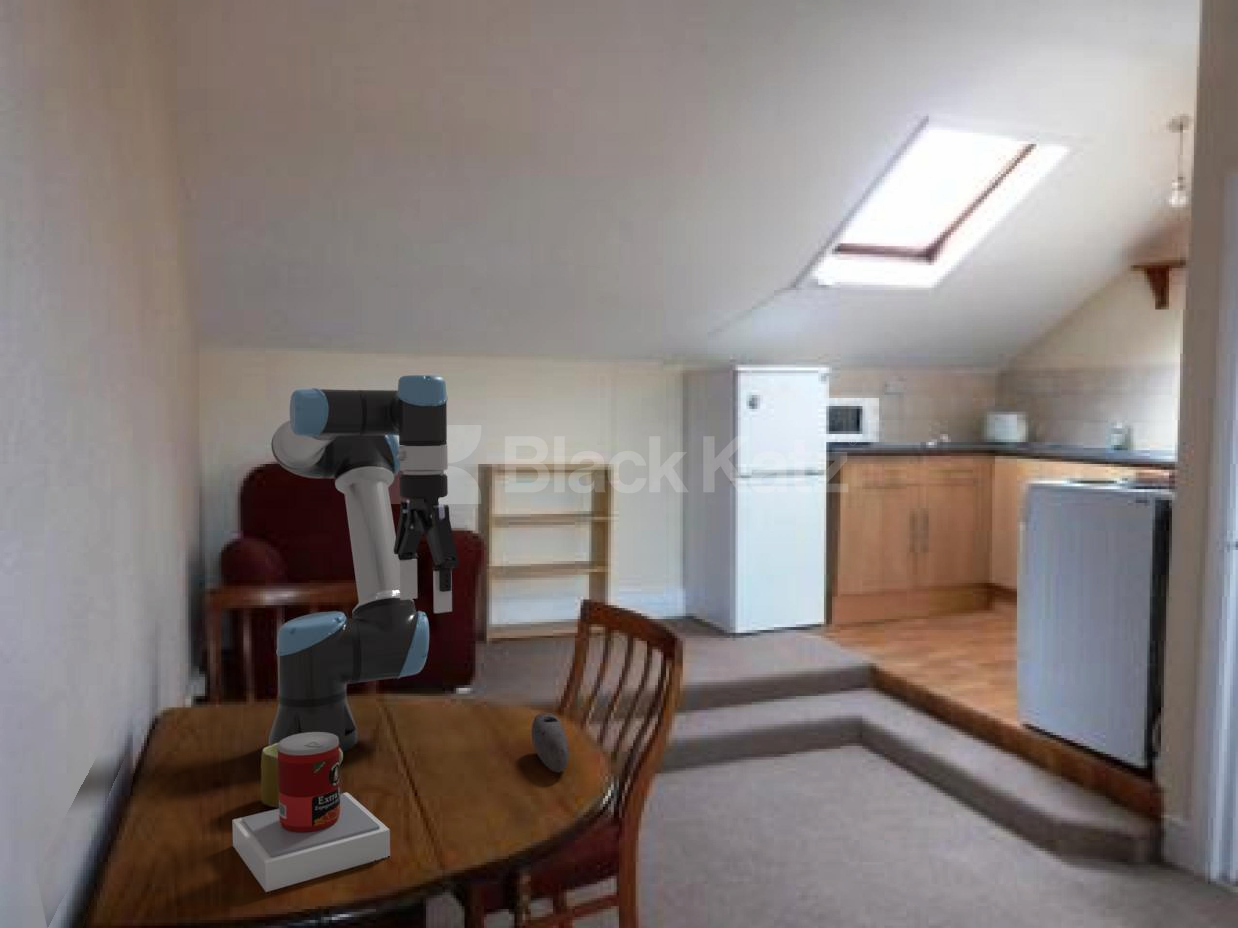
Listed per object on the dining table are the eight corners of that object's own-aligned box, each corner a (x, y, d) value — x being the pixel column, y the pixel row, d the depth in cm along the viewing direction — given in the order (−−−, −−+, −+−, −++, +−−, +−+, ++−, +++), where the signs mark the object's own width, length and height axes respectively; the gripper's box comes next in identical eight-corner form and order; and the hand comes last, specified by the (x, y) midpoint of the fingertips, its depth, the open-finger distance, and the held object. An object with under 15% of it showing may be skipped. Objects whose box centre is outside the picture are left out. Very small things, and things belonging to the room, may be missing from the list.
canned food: (322, 835, 121) (321, 752, 120) (267, 830, 122) (265, 748, 122) (351, 811, 128) (349, 732, 128) (298, 807, 130) (296, 729, 130)
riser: (233, 845, 127) (232, 816, 127) (347, 816, 137) (347, 789, 136) (265, 891, 114) (265, 859, 114) (390, 856, 124) (389, 826, 124)
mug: (256, 809, 134) (267, 737, 138) (249, 807, 143) (260, 740, 147) (342, 811, 139) (351, 742, 143) (331, 809, 148) (339, 744, 151)
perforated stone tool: (575, 778, 151) (574, 736, 151) (543, 781, 150) (542, 738, 149) (559, 747, 166) (559, 709, 165) (530, 750, 164) (529, 711, 164)
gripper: (372, 470, 156) (374, 596, 157) (433, 476, 136) (435, 621, 137) (415, 469, 161) (416, 591, 161) (479, 474, 140) (481, 614, 141)
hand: (425, 605), depth 149 cm, fingers open, 13 cm apart
